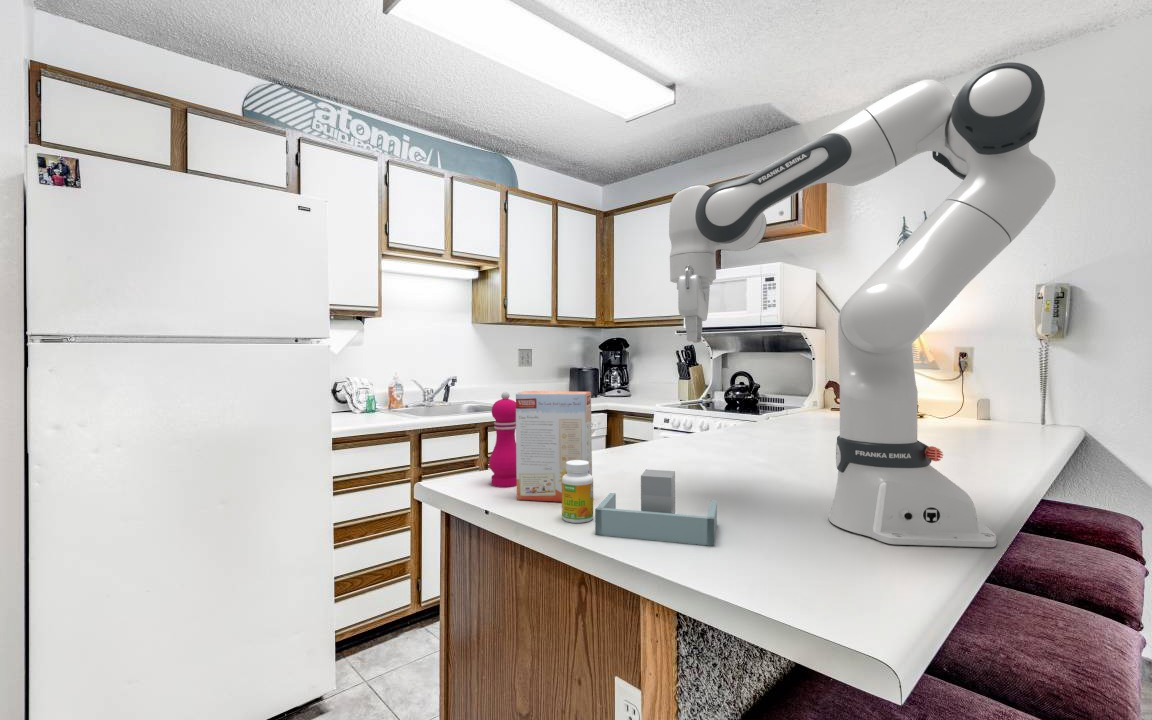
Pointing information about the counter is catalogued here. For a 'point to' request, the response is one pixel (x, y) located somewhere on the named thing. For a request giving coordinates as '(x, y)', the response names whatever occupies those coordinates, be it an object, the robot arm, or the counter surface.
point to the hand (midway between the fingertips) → (694, 342)
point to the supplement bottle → (577, 492)
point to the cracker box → (550, 440)
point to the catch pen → (655, 524)
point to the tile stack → (658, 491)
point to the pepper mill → (504, 443)
